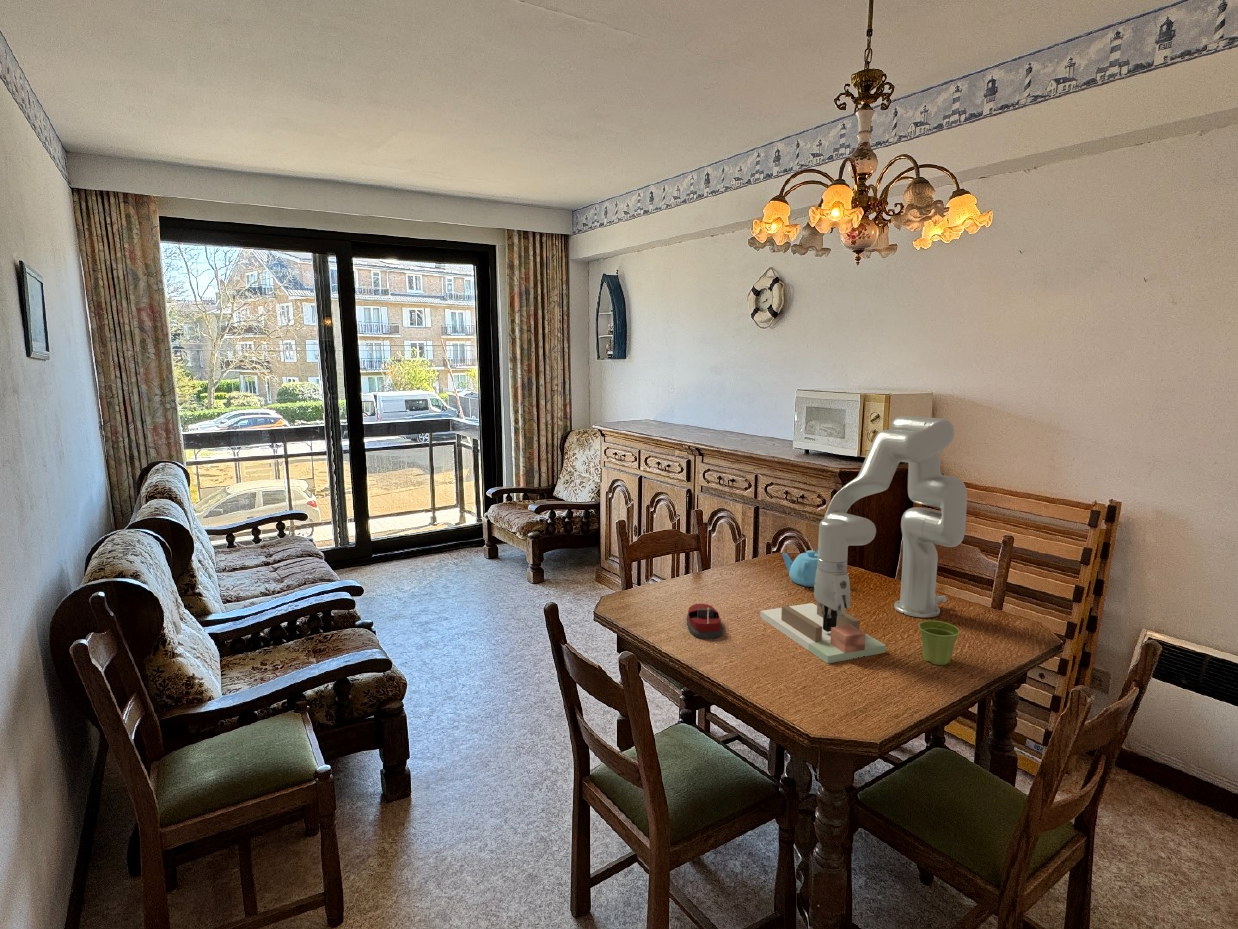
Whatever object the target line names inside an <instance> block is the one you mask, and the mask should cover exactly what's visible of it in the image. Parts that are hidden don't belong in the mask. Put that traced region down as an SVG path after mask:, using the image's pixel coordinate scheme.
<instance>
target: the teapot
mask: <svg viewBox="0 0 1238 929" xmlns="http://www.w3.org/2000/svg"><path fill="white" fill-rule="evenodd" d="M781 555H782V558H783V561H784V564H785V566H786V569H787V572H788V573H789V574H788V575H789V577H790V579H791V581H792V582H794V583H795V584H797V585H798V586H799V585H800V586H802V587H803V586H804V587H809V588H810V587H811V588H814V584H815V576H816V570H817V565H818V550H806V552H802V553H799V554H798V555H797V556H796V557H795V559H794V560H792V559H791V557H790V555H789V554H788V553H786V552H785V553H784V552H783V553H781Z"/></svg>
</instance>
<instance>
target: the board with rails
mask: <svg viewBox="0 0 1238 929" xmlns="http://www.w3.org/2000/svg"><path fill="white" fill-rule="evenodd" d="M833 611H834V610H833ZM759 614H760V616H759V617H760V618H761V620H763V621H765V622H766V623H768V624H770V626H772V627H774V628H775V629H777V630H778V631H779V632H781V633H782V634H783V635H786V636H787V638H790V639H791V640H793V641H794V642H795V643H797V644H798V645H800V646H801V647H803V648H804V649H806V650H807V651H808V652H810V653H812V654H813V655H814V656H815V657H817V658H819V659H820V660H822V661H823V662H825V663H826V664H832V663H837V662H842V661H843V662H844V661H849V660H853V658H854V659H859V658H863V656H865V657H869V656H874V655H879V654H884V653H887V652H886V650H887V644H885V643H882V642H881V641H879V640H877V639H876V638H874V637H872V636H871V635H869V634H867V633H866V634H865V650H862V651H856V652H850V653H843V652H842V651H841V650H839V649H838V648H836V647H835V646H833V645H832V644H830V643H831V631H829V632H827V631H825V630H823V616H824V615H822V608H821V606H820V605H819V604H818V603H817V602H816V604H815V603H813V602H809V603H803V604H797V605H790V606H789V605H784V606H781V607H776V608H771V609H765V610H764V609H763V610H760V613H759ZM860 623H861V621H860V619H858V618H856V617H855V616H853V615H851V614H849V613H847V612H845V615H843V616H838V617H837V624H836V627H838V626H844V625H852V626H854V627H856V628H857V629H859V630H860ZM858 657H859V658H858Z"/></svg>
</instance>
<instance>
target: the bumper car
mask: <svg viewBox="0 0 1238 929" xmlns="http://www.w3.org/2000/svg"><path fill="white" fill-rule="evenodd" d="M686 621H687V622H686V626H688V627H687V629H688V631H689V633H692V634H693V635H692V634H691V635H692V636H693V637H695V638H697V637H698V638H697V639H717V638H718V639H719V638H720V637H722V636H723V631H724V630H723V623H722V618H721V617H720V614H719V612H718V611H717V610H716V609H715V608H714V607H713V606H712V605H710V604H706V603H695V604H692V605H691V606H690V607H688V611H687V614H686Z"/></svg>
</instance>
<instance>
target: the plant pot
mask: <svg viewBox="0 0 1238 929" xmlns="http://www.w3.org/2000/svg"><path fill="white" fill-rule="evenodd" d="M917 626H918V629H919V630H920V635H921V644H922V655H923V659H924V661H926V662H930V663H931V664H933V665H936V666H937V665H938V666H946V665H948V664H950V663H951V659H952V655H953V651H954V647H955V643H956V640H957V638H958V636H959V635H960V634H961V631H960V630H961V629H959V628H958V627H957V626H955V625H953V624H951V623H948V622H945V621H941V620H924V621H920V622H919V623H918V625H917Z"/></svg>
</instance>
